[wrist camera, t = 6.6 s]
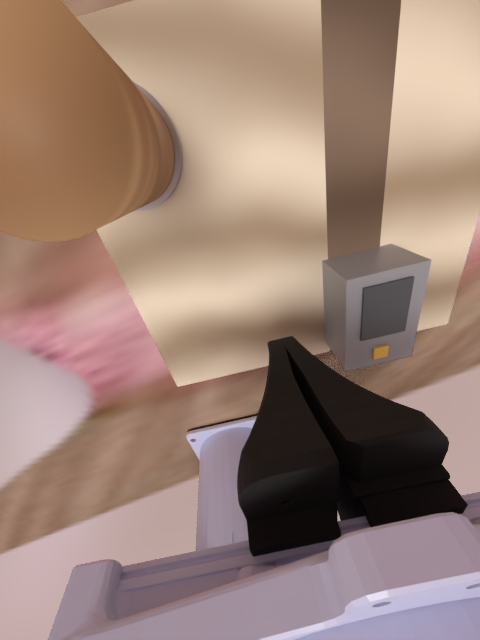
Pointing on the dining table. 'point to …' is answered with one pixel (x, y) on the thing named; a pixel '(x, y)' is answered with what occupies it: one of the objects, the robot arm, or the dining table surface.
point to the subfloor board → (294, 162)
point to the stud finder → (373, 304)
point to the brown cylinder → (74, 130)
